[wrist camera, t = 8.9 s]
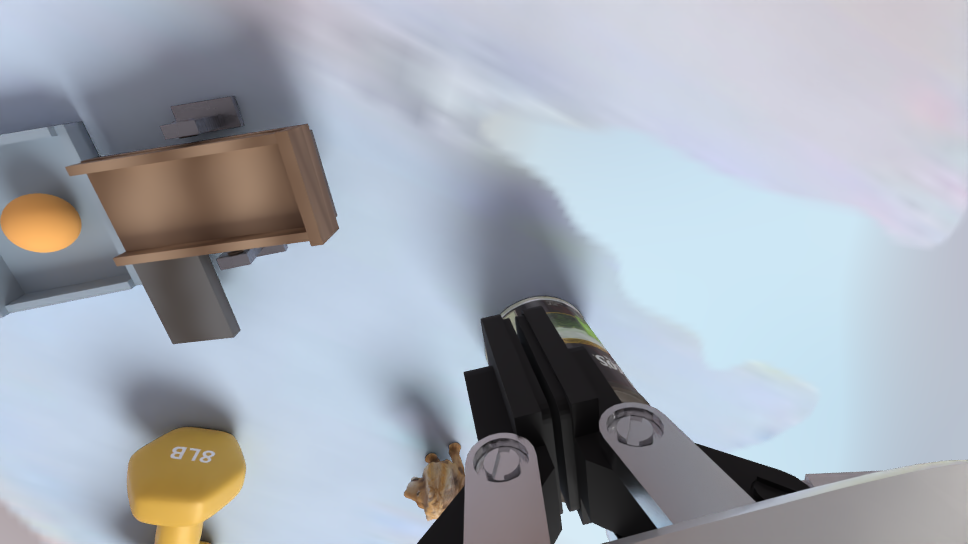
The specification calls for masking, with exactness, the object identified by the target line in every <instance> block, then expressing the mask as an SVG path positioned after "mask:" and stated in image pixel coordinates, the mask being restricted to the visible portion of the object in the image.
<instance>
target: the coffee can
mask: <svg viewBox="0 0 968 544" xmlns="http://www.w3.org/2000/svg"><path fill="white" fill-rule="evenodd" d="M536 306H542V307H543V309H544V310H545V312H546V313H547V315H548V317H549V318H550V320H551V322H552V323H553V325H554V327H555V328H556V330H557V331H558V333H559V335H560V336H561V338H562V340H563V341H564V343H565V344H566V346H567V348H571V347H575V346H580V345H582V346H584V348H585V349H586V350H587V352H588V353H589V355H590V356H591V357H592V359H593V360H594V362H595V363H596V365H597V366H598V368H599V369H600V371H601V372H602V374H603V375H604V377H605V378H606V380H607V381H608V383H609V384H610V386H611V387H612V388H613V390H614V391H615V393H616V394H617V396H618V397H619V399H620V400H621V402H622V403H630V402H636V403H641V404H646V405H649V403H648V402H647V401H646V400H645V399H644V398H643V397H642V396H641V395H640V394H639V393H638V392H637V390H636V389H635V388H634V386H633V385H632V383H631V382H630V381H629V380H628V378H627V377H626V376H625V374H624V373H623V372H622V370H621V369H620V368H619V366H618V365H617V364H616V362H615V361H614V359H613V358H612V357H611V355H610V354H609V353H608V351H607V350H606V349H605V348H604V346H603V345H602V343H601V342H600V341H599V339H598V338H597V337H596V335H595V334H594V333H593V331H592V330H591V329H590V327H589V326H588V324H587V323H586V322H585V320H584V318H583V316H582V315H581V313H580V312H579V311H578V310H577V309H576V308H575V307H574V306H573V305H571V304H569V303H568V302H566V301H564V300H561V299H558V298H555V297H549V296H539V297H532V298H528V299H524V300H522V301H519V302H517V303H515V304H513V305H511V306H510V307H508V308H507V309H506V310H505V311H503V312H502V313H501V314H500V315H501V316H502V319H506V318H510V320H511V323H512V325H513V327H514V329H515V331H516V324H515V316H520V315H521V310H523V309H527V308H532V307H536ZM516 334H517V331H516ZM485 352H486V348H485ZM486 358H487V353H486ZM487 362H488V359H487ZM649 406H650V405H649ZM560 492H561V490H560ZM561 500H562V502H565V500H564V498H563V495H562V492H561Z"/></svg>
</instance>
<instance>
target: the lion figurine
mask: <svg viewBox="0 0 968 544" xmlns="http://www.w3.org/2000/svg"><path fill="white" fill-rule="evenodd" d="M460 449H461V446H460V444H458V443H452V444H450V445H449V454H450V456H451V459H452V462H453V463H452V462H451V461H450V460H447V459H446V460H445V461H440V460H439V458H438V457H437V455H436V454H434V453H430V454H428V455H427V456H426V459H425V461H426V462H427V463H429V464H428V466H427V467H425V468H424V472H423V478H418V477H413V478H412V479H411V482H410V483H409V484H408V486H407V489H406V491H405V492H404V496H405V497H406V498H409V499H412V500H414V501H415V502H416V503H417V505H418V506H419V507H420V508H422V509H424V511H425V514H426V519H427V520H428V521H429V520H432V519H438V517H439V516H440V515H441V514H442V512H443V511H444V510H445V509H446V508H447V506H448V505H449V504H450V503H451V501H452V500H453V499H454V498H455V496H456V495H457V494H458V493H459V492H460V490H461V489H462V488H463V487H464V485H465V473H464V467H463V464H462V461H461V458H460V455H459V452H460Z"/></svg>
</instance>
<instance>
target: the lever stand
mask: <svg viewBox="0 0 968 544" xmlns="http://www.w3.org/2000/svg"><path fill="white" fill-rule="evenodd" d="M171 109H172V111H173V114H174V116H175V119H176V121H174V122H173V123H172V124H167V125H162V126H160V128H161V130H162V132H163V135H164V137H165V139H172V138H177V137H179V138H186V137H191V136H196V135H200V133H206V132H212V131H217V130H223V129H229V128H235V127H240V126H244V122H243V119H242V116H241V114H240V111H239V108H238V105H237V102H236V99H235V97H234V96H231V97H225V98H219V99H213V100H207V101H201V102H195V103H189V104H183V105H177V106H171ZM287 248H288V247H287V244H283V245H275V246H268V247H260V248H252V249H245V250H237V251H230V252H223V253H222V254H221V255H220V256H219V257H218V258H217V262H218V264H219V267H220V269H221V270H224V269H229V268H234V267H239V266H244V265H249V264H251V263H252V262H253V261H254V259H255V258H256V257H258V256H263V255H268V254H273V253H278V252H284V251H286V250H287Z"/></svg>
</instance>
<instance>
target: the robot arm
mask: <svg viewBox="0 0 968 544" xmlns="http://www.w3.org/2000/svg"><path fill="white" fill-rule="evenodd" d="M515 324H516V331H517V334H516V331H515V329H514V327H513V325H512V323H511V320H510V318H506V319H502V316H501V315H495V316H491V317H486V318H482V319H481V325H482V331H483V336H484V342H485V348H486V353H487V359H488V364H489V366H488V367H483V368H479V369H475V370H470V371H466V372H464V376H465V381H466V386H467V391H468V396H469V400H470V405H471V410H472V415H473V419H474V424H475V429H476V433H477V438H478V442H477V443H476V444H475V445H474V446H473V447H472V448H471V450H470V451H469V453H468V455H467V459H466V463H465V485H464V487H463V488H462V489H461V490H460V492H459V493H458V494H457V495H456V496H455V498H454V499H453V500H452V501H451V503H450V504H449V505H448V506H447V508H446V509H445V510H444V511H443V512H442V514H441V515H440V516H439V517H438V519H437V520H436V521H435V522H434V523H433V525H432V526H431V527H430V528H429V530H428V531H427V532H426V533H425V535H424V536H423V537H422V538H421V539H420V541H419V542H418V543H417V544H554V543H555V541H556V539H557V538H558V536H559V534H560V532H561V530H562V524H561V516H560V514H562V513H563V509H562V500H561V492H562V495H563V498H564V500H565V503H566V505H567V508H568V510H569V511H574V510H577V511H578V514H579V516H580V518H581V521H582V523H583V525H585V524H589V523H594V524H597V525H599V526H601V527H603V528H605V529H606V534H607V537H608V539H609V542H606V543H602V544H968V460H949V461H939V462H931V463H923V464H915V465H911V466H905V467H900V468H895V469H890V470H885V471H868V472H867V471H866V472H843V473H822V474H806V475H805V480H803V481H801V480H799V479H798V478H796V477H795V476H792V475H790V474H788V473H786V472H783V471H781V470H778V469H775V468H771V467H768V466H765V465H762V464H759V463H756V462H753V461H750V460H746V459H743V458H740V457H737V456H734V455H731V454H728V453H724V452H721V451H718V450H715V449H712V448H709V447H706V446H703V445H699V444H696V443H694V442H693V441H692V440H691V439H690V438H689V437H687V436H686V435H685V434H684V433H683V432H682V431H681V430H680V429H679V428H678V427H677V426H676V425H675V424H674V423H673V422H672V421H671V420H670V419H669V418H668V417H667V416H666V415H664V414H663V413H662V412H660V411H659V410H658V409H656V408H654V407H651V406H649V405H646V404H641V403H636V402H630V403H622V402H621V400H620V399H619V397H618V396H617V394H616V393H615V391H614V390H613V388H612V387H611V386H610V384H609V383H608V381H607V380H606V378H605V377H604V375H603V374H602V372H601V371H600V369H599V368H598V366H597V365H596V363H595V362H594V360H593V359H592V357H591V356H590V355H589V353H588V352H587V350H586V349H585V348H584V346H582V345H580V346H575V347H571V348H567V346H566V344H565V343H564V341H563V340H562V338H561V336H560V335H559V333H558V331H557V330H556V328H555V327H554V325H553V323H552V322H551V320H550V318H549V317H548V315H547V313H546V312H545V310H544V309H543V307H542V306H536V307H532V308H527V309H523V310H521V315H520V316H515ZM560 490H561V492H560Z"/></svg>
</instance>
